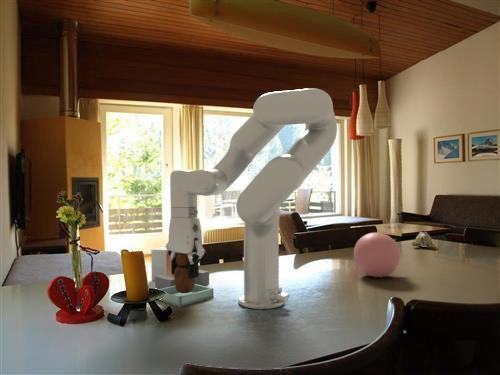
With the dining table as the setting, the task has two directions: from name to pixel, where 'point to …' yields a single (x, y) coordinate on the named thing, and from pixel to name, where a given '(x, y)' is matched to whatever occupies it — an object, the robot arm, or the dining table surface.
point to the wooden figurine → (183, 275)
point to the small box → (160, 262)
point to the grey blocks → (168, 281)
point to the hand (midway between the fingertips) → (184, 275)
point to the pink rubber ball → (376, 255)
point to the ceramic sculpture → (423, 240)
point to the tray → (186, 295)
